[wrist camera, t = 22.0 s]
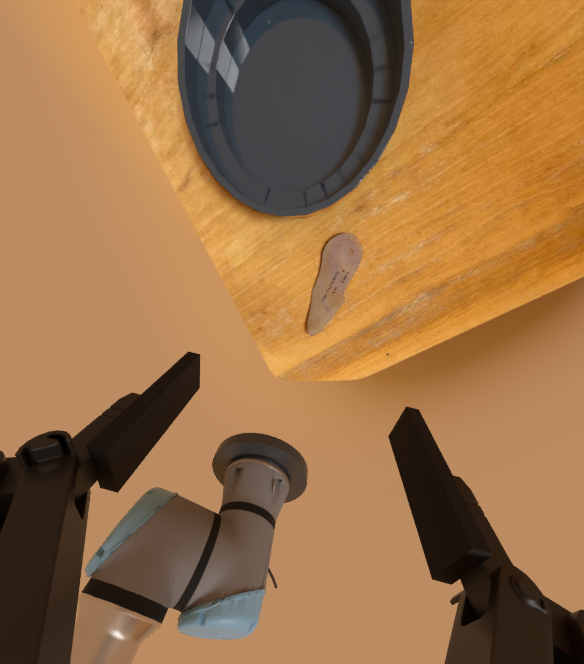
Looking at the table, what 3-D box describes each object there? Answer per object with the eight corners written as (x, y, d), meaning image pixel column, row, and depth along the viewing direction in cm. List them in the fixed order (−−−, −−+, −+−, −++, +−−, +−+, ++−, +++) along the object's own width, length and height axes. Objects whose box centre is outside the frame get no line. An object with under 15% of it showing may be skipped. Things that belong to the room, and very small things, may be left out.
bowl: (355, 234, 28) (361, 235, 24) (202, 198, 29) (180, 193, 24) (433, -19, 19) (467, -95, 15) (207, -62, 20) (172, -148, 15)
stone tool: (328, 339, 34) (371, 240, 27) (326, 343, 33) (370, 240, 26) (299, 326, 36) (333, 227, 29) (295, 329, 34) (330, 226, 27)
